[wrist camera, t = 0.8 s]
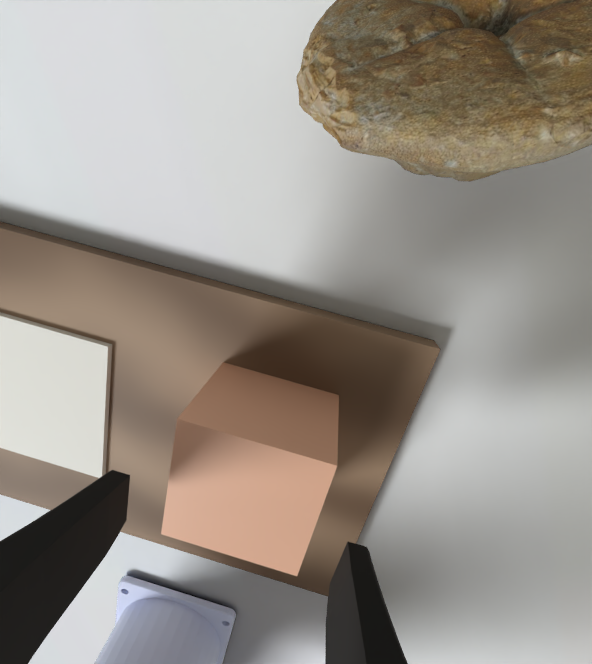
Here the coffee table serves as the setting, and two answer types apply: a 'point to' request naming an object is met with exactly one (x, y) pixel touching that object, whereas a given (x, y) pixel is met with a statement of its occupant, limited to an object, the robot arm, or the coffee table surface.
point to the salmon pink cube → (252, 467)
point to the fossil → (453, 81)
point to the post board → (197, 368)
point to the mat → (54, 395)
